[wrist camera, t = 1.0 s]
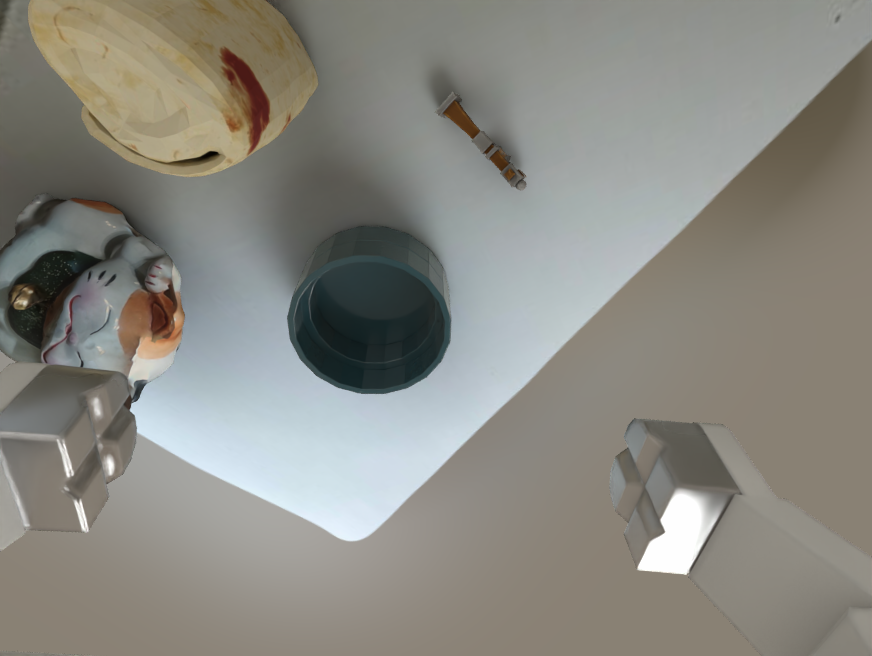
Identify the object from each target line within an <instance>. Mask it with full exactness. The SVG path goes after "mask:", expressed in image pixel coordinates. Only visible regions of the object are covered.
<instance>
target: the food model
mask: <svg viewBox="0 0 872 656" xmlns="http://www.w3.org/2000/svg"><path fill="white" fill-rule="evenodd" d="M28 22H29V25H30V29H31V33H32V36H33V40H34V41H35V43H36V45H37V46H38V48H39V50H40V51H41V53H42V55H43V56H44V58H45V59H46V61H47V62H48V64H49V65H50V66H51V67H52V68H53V69H54V70H55V71H56V72H57V73H58V74H59V76H60V77H61V78H62V79H63V80H64V81H65V82H66V83H67V84H68V85H69V86H70V88H71V89H72V90H73V91H74V92H75V94H76V95H77V96H78V97H79V99H80V100H81V101H82V102H83V103H84V106H83V107H82V116H81V118H82V120H83V122H84V124H85V126H86V127H87V129H88V131H89V133H90V134H91V135H92V136H93V137H95V138H96V139H98V140H99V141H100V142H102V143H103V144H105V145H106V146H107V147H109V148H110V149H112V150H113V151H114V152H116V153H117V154H119V155H120V156H121V157H123V158H124V159H125V160H127V161H128V162H131V163H134V164H137V165H140V166H143V167H146V168H149V169H152V170H154V171H157V172H160V173H165V174H171V175H177V176H183V177H196V176H206V175H209V174H213V173H217V172H219V171H222V170H224V169H226V168H228V167H231V166H233V165H235V164H237V163H239V162H241V161H243V160H244V159H246V158H247V157H248V156H250V155H251V154H253V153H254V152H255V151H257V150H258V149H260V148H262V147H263V146H265V145H267V144H269V143H270V142H271V141H272V140H274V139H275V138H276V137H277V136H279V135H280V134H281V133H282V132H283V131H284V130H285V129H286V127H287V126H288V124H289V123H290V122H291V121H292V120H293V119H294V118H295V117H296V116H297V115H298V114H299V113H300V112H301V111H302V110H303V108H304V106H305V104H306V103H307V101H308V99H309V97H310V96H311V95H313V93H314V91H315V90H316V88H317V86H318V77H317V73H316V71H315V68H314V65H313V64H312V62H311V60H310V58H309V56H308V54H307V52H306V50H305V48H304V46H303V44H302V42H301V41H300V39H299V37H298V35H297V34H296V33H295V31H294V30H293V28H292V27H291V26H290V24H289V23H288V21H287V20H286V18H285V17H284V16H283V15H282V14H281V13H280V12H279V11H278V10H276V9H275V8H274V7H273V6H272V5H271V4H270V3H269V2H267V1H266V0H31V1H30V3H29V6H28Z"/></svg>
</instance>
